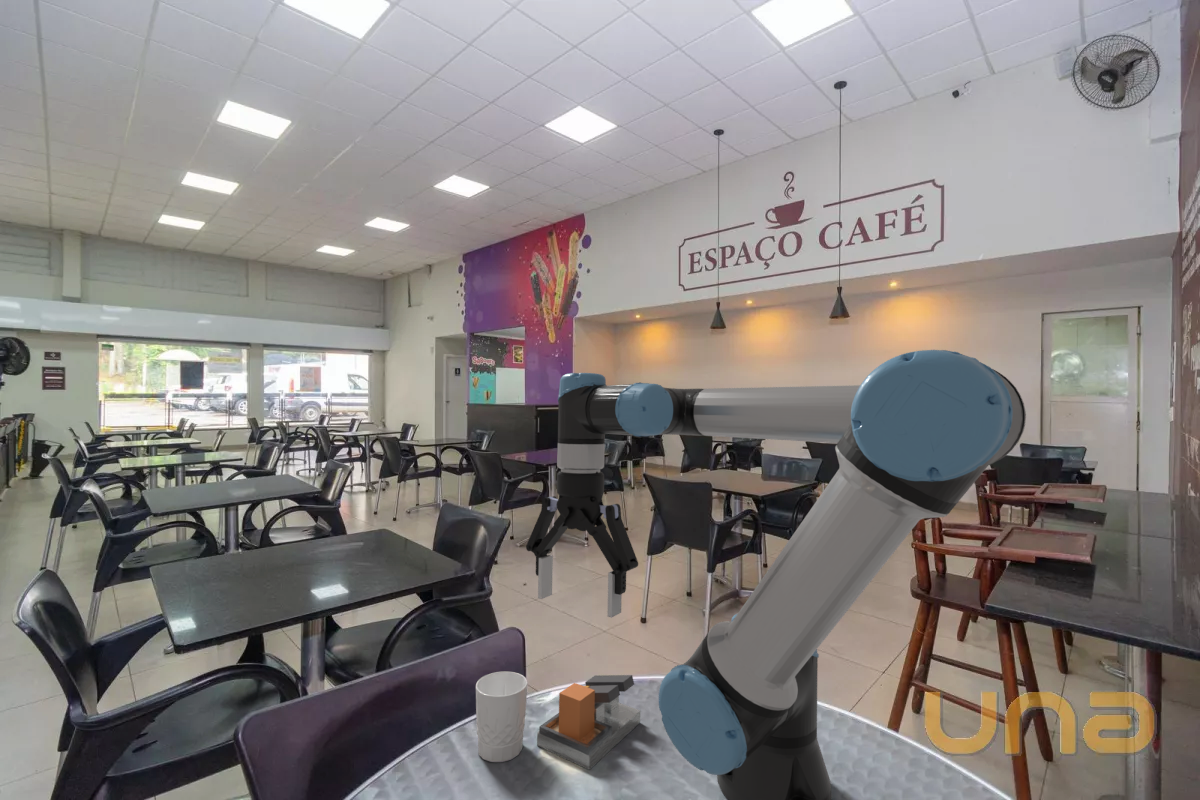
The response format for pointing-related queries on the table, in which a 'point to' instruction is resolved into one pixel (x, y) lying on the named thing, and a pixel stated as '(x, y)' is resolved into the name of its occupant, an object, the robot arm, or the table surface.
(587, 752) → the gray metal tray
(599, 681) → the block
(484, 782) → the table surface
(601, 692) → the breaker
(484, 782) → the table surface
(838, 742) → the table surface
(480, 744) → the white cup
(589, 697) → the cap
